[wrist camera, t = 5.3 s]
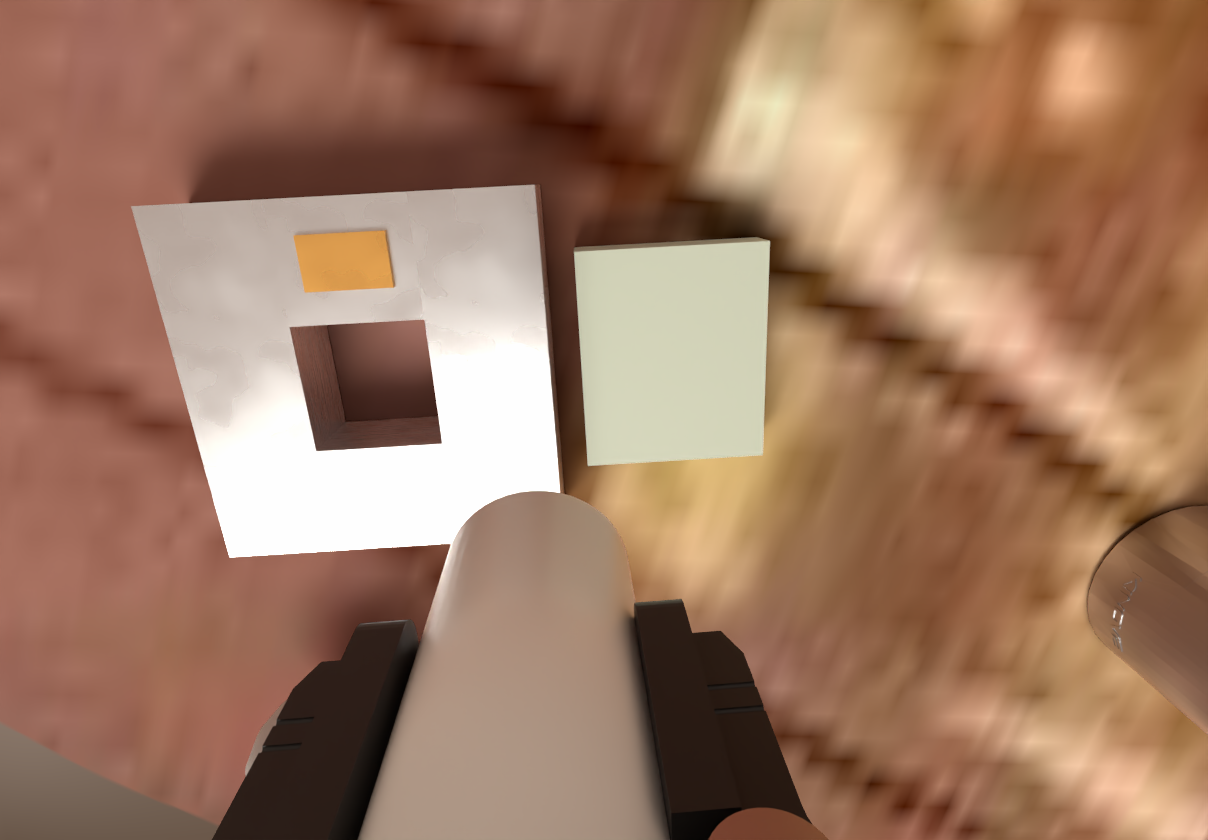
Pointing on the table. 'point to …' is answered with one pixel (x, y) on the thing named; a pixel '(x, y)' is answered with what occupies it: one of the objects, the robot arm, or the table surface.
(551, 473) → the flange
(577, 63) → the table surface
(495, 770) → the peg
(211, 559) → the table surface
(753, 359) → the square base plate
